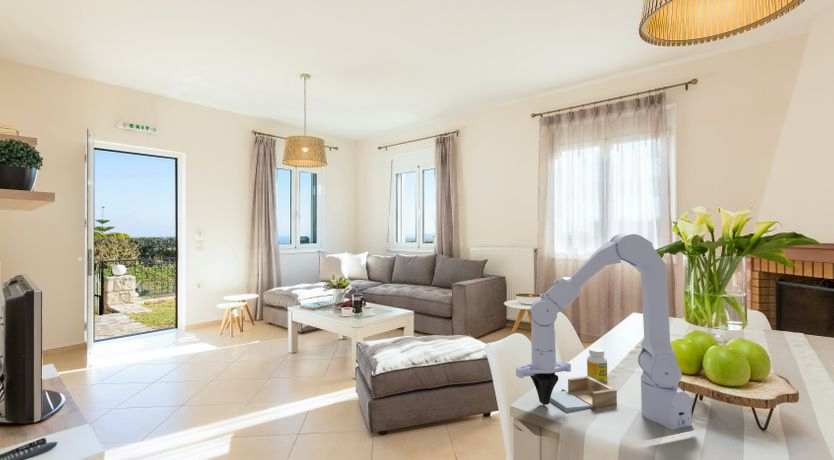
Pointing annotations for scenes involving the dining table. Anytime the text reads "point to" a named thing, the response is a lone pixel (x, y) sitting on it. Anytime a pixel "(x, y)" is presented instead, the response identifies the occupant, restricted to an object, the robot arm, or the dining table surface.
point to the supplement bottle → (597, 365)
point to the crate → (592, 392)
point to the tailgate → (568, 401)
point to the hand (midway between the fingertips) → (544, 402)
